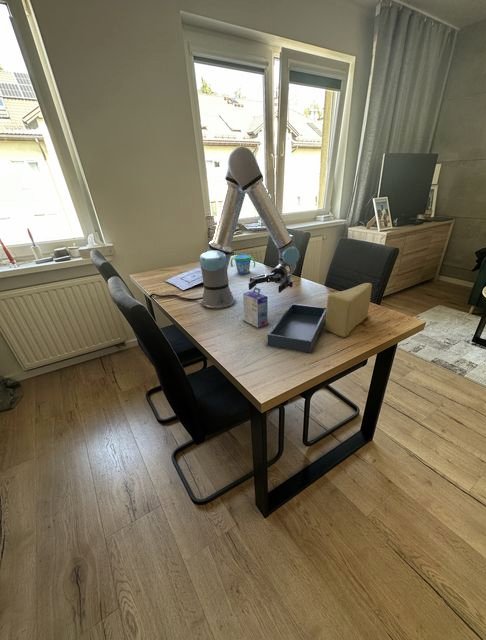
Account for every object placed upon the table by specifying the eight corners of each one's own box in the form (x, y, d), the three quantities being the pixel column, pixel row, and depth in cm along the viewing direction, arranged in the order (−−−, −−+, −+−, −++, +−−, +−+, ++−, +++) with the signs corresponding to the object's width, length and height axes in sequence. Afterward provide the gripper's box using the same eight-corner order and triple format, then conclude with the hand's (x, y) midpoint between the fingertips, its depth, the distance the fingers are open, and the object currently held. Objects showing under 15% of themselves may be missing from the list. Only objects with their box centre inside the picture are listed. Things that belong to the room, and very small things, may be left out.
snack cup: (257, 270, 180) (257, 254, 175) (252, 275, 172) (251, 258, 166) (235, 269, 184) (234, 253, 179) (229, 274, 176) (227, 257, 170)
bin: (267, 345, 100) (267, 334, 97) (291, 312, 123) (291, 303, 121) (310, 353, 95) (311, 341, 92) (326, 317, 118) (327, 307, 115)
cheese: (355, 313, 121) (360, 279, 113) (376, 320, 114) (383, 284, 106) (323, 329, 109) (327, 293, 101) (344, 338, 102) (350, 300, 94)
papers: (228, 276, 167) (227, 270, 165) (184, 294, 153) (182, 288, 151) (207, 268, 183) (206, 263, 181) (166, 284, 169) (164, 279, 167)
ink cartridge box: (268, 324, 114) (268, 290, 106) (258, 328, 111) (256, 294, 104) (254, 316, 121) (252, 284, 113) (243, 320, 118) (241, 287, 110)
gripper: (305, 283, 132) (292, 299, 115) (256, 279, 140) (238, 293, 124) (305, 267, 128) (292, 281, 111) (256, 264, 136) (236, 277, 120)
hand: (264, 288), depth 117 cm, fingers open, 13 cm apart
